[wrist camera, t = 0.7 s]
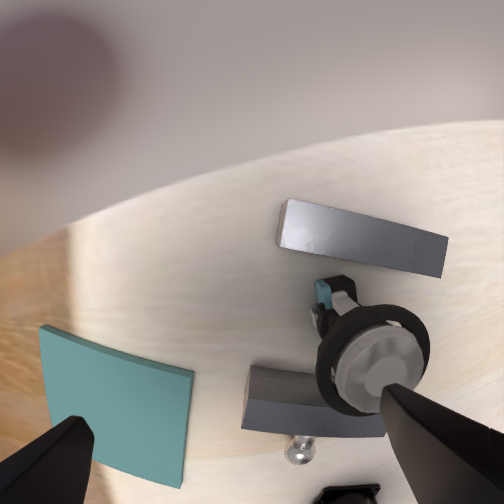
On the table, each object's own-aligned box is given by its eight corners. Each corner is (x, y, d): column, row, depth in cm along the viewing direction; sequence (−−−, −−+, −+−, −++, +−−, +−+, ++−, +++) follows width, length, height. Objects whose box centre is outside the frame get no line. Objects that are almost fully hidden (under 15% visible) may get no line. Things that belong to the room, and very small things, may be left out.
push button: (371, 350, 20) (433, 425, 10) (302, 368, 20) (329, 461, 10) (361, 264, 20) (441, 297, 10) (287, 281, 20) (312, 333, 10)
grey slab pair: (414, 234, 19) (448, 237, 15) (347, 445, 21) (359, 479, 17) (282, 204, 19) (288, 198, 15) (234, 436, 21) (230, 472, 17)
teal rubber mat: (193, 371, 21) (190, 378, 20) (182, 482, 22) (180, 488, 21) (45, 324, 21) (38, 327, 20) (60, 437, 22) (56, 442, 21)
